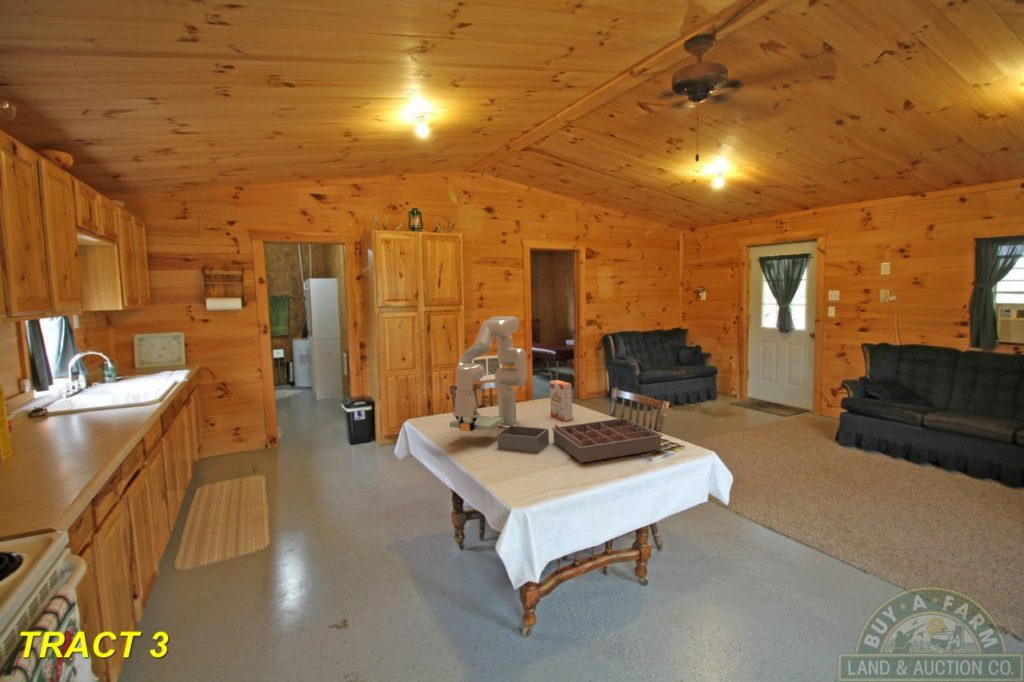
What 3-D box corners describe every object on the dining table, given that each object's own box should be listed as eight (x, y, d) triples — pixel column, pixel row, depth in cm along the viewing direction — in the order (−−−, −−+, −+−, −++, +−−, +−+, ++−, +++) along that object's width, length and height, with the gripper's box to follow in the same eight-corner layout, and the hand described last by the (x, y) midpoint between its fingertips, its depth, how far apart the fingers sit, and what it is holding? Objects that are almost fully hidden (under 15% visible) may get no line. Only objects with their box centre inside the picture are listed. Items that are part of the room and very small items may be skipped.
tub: (498, 450, 232) (497, 433, 231) (510, 441, 244) (510, 425, 243) (538, 454, 223) (537, 437, 222) (549, 445, 236) (548, 428, 235)
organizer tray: (663, 452, 219) (663, 430, 218) (580, 466, 207) (579, 443, 206) (625, 433, 250) (625, 413, 248) (551, 444, 238) (550, 423, 237)
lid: (445, 429, 240) (445, 422, 240) (466, 418, 258) (465, 412, 258) (485, 433, 231) (484, 425, 231) (503, 422, 249) (503, 415, 248)
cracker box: (550, 416, 286) (548, 380, 284) (559, 414, 289) (557, 379, 287) (563, 421, 274) (562, 384, 272) (573, 420, 277) (571, 383, 274)
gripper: (445, 393, 236) (447, 430, 238) (477, 395, 229) (479, 433, 230) (454, 390, 243) (456, 426, 244) (484, 391, 235) (486, 429, 237)
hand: (467, 429), depth 237 cm, fingers closed on lid, 4 cm apart
